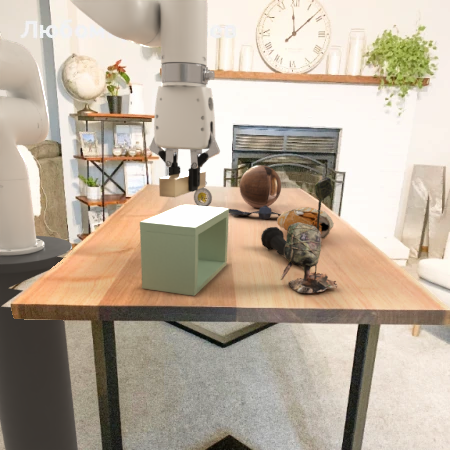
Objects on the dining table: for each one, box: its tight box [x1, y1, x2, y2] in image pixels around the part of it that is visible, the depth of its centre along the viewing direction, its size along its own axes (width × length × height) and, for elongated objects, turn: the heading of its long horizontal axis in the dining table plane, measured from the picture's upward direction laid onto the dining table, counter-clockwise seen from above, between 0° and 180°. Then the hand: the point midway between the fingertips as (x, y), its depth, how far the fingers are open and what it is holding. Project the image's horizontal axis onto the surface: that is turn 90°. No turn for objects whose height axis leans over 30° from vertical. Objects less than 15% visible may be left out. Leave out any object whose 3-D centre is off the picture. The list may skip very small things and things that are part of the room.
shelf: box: [139, 203, 230, 297], centre depth 85 cm, size 10×20×12 cm, turn 164°
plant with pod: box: [280, 176, 338, 294], centre depth 79 cm, size 8×11×20 cm
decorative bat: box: [229, 205, 282, 220], centre depth 144 cm, size 30×4×10 cm
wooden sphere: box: [239, 164, 282, 209], centre depth 160 cm, size 15×15×15 cm
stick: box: [158, 170, 207, 199], centre depth 80 cm, size 3×16×3 cm, turn 164°
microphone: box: [260, 226, 303, 268], centre depth 101 cm, size 6×6×20 cm
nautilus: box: [276, 206, 335, 240], centre depth 118 cm, size 8×22×15 cm
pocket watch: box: [193, 181, 213, 207], centre depth 150 cm, size 8×8×10 cm
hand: (184, 189), depth 81 cm, fingers closed on stick, 2 cm apart
